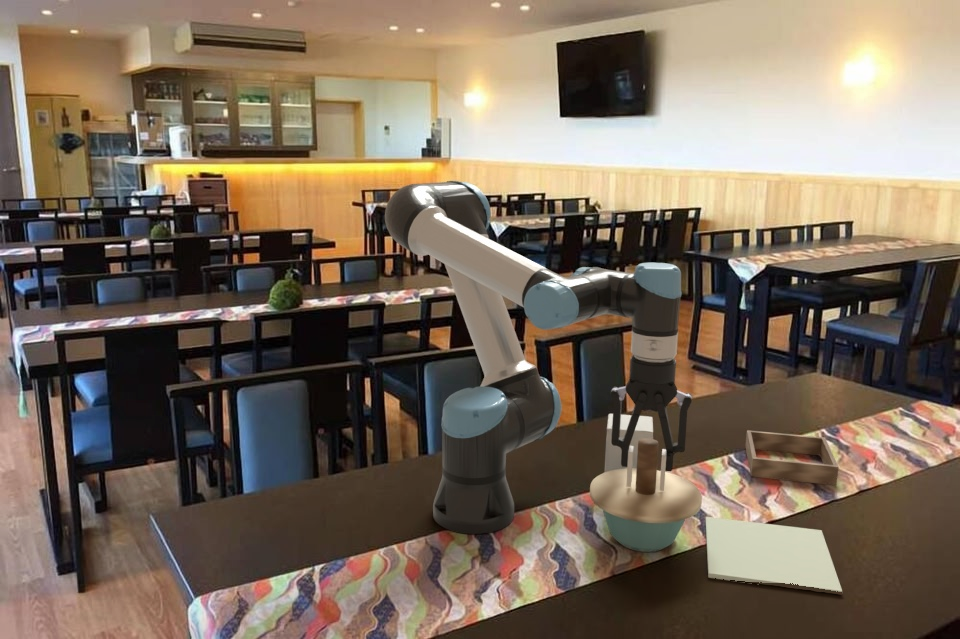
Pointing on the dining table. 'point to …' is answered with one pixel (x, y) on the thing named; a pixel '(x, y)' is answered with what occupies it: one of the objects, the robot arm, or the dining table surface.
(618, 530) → the bowl
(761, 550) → the mat
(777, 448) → the holder corral
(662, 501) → the lid
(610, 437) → the supplement box
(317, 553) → the dining table surface
